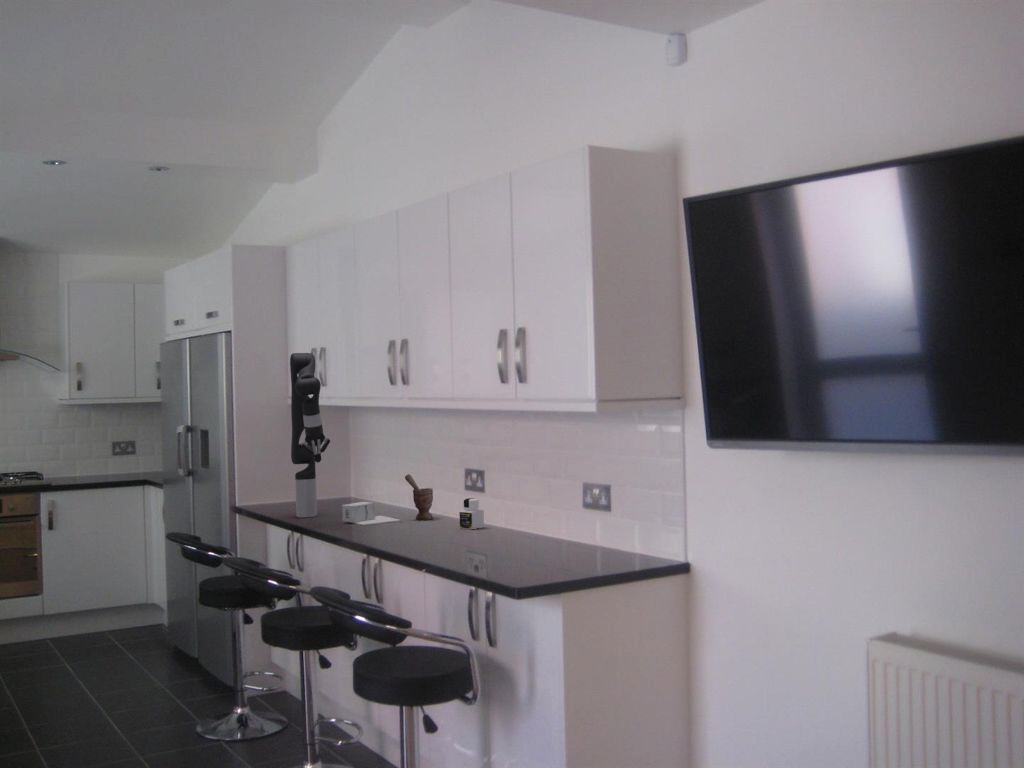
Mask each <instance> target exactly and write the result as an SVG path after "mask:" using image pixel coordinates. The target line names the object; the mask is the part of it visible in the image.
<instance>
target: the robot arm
mask: <svg viewBox="0 0 1024 768" xmlns="http://www.w3.org/2000/svg"><path fill="white" fill-rule="evenodd" d="M289 358H290V359H289V366H290V369H289V371H290V381H291V382H290V383H291V384H290V386H291V394H290V395H291V399H290V401H291V403H290V404H291V405H290V409H291V444H290V445H291V447H290V450H291V451H290V459H291V463H292V464H294V465H306V464H307V466H306V467H305V468H304V469H302V470H299V471H297V472H296V473H295V475H294V478H295V482H294V483H295V484H294V485H295V506H296V509H295V511H296V517H297V518H313V517H317V516H318V506H317V505H318V503H317V502H318V501H317V499H318V498H317V478H316V477H317V475H316V463H321V461H322V453H324V452H325V451H326V449H327V448H328V446H329V444H330V442H331V440H330V438H329V437H326V436H325V434H324V430H323V420H322V415H321V409H320V394H321V387H322V384H321V381H320V379H318V378H317V377H316V376H315V374H316V357H315V355H314V354H313V353H312V352H294V353H293V352H292V353H291V354H290V356H289ZM311 395H312V396H311ZM310 396H311V397H310ZM303 432H304V434H305V438H304V441H303V442H301V443H300V439H301V436H302V435H303Z"/></svg>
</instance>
